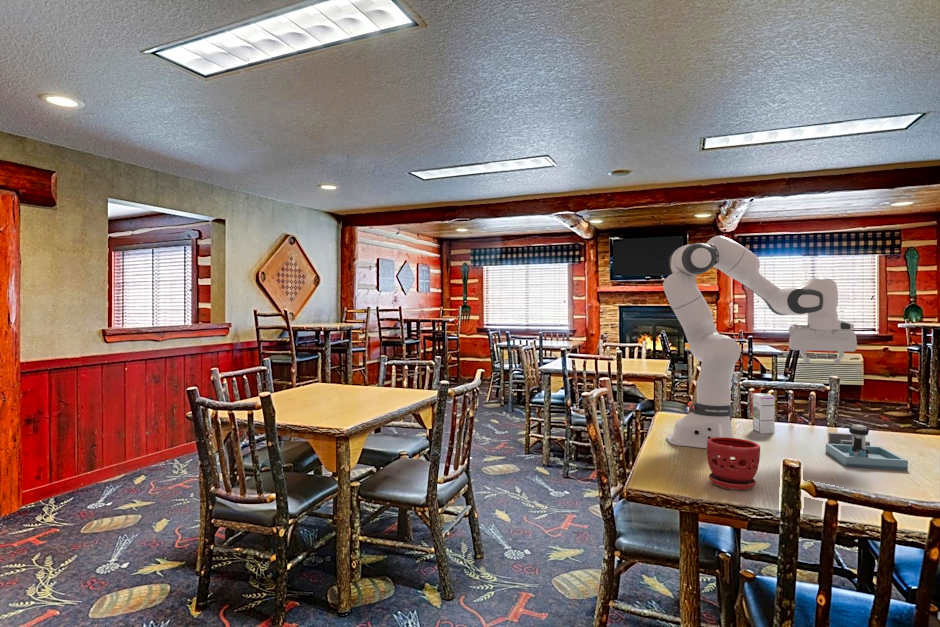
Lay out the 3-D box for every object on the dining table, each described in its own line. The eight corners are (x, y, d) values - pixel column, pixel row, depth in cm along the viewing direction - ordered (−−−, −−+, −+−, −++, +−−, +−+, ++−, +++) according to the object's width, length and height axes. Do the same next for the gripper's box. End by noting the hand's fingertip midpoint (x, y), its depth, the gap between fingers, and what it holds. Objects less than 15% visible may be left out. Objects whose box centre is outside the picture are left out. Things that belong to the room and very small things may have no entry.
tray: (846, 466, 164) (846, 456, 164) (825, 452, 179) (825, 443, 179) (907, 470, 160) (907, 460, 160) (881, 455, 175) (881, 446, 175)
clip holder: (842, 451, 181) (842, 440, 180) (828, 442, 192) (828, 432, 192) (869, 452, 179) (870, 442, 178) (853, 443, 190) (854, 433, 190)
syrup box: (775, 433, 205) (775, 395, 205) (759, 433, 205) (759, 395, 205) (767, 429, 211) (767, 393, 211) (751, 429, 211) (752, 393, 211)
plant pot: (762, 496, 139) (762, 450, 139) (706, 489, 144) (707, 444, 144) (757, 480, 151) (757, 438, 151) (706, 474, 156) (706, 433, 156)
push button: (877, 459, 168) (877, 427, 168) (866, 461, 166) (867, 429, 165) (854, 453, 174) (855, 423, 174) (844, 455, 172) (844, 424, 172)
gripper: (791, 324, 188) (791, 363, 188) (859, 325, 183) (858, 365, 183) (786, 323, 194) (785, 361, 194) (851, 324, 189) (850, 363, 189)
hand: (821, 363), depth 189 cm, fingers open, 8 cm apart
